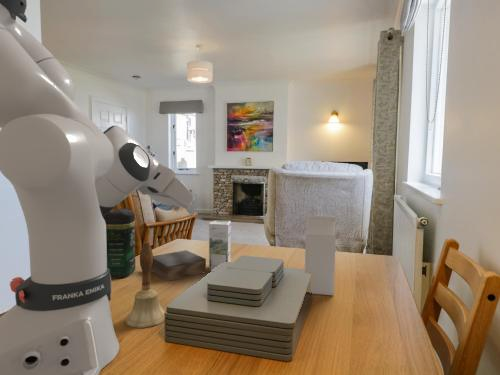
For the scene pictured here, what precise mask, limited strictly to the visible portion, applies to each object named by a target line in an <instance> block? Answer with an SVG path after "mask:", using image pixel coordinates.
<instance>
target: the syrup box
mask: <svg viewBox="0 0 500 375" xmlns="http://www.w3.org/2000/svg"><path fill="white" fill-rule="evenodd" d="M208 227H209V228H208V231H209V232H208V238H209V239H208V240H209V241H208V242H209V243H208V244H209V246H208V248H209V249H208V253H209V254H208V257H209V258H208V259H209V261H208V262H209V264H208V268H209V269H208V270H210V271H209V272H212V271H211V270H212V269H214V268H215V267H217V266H218V265H220V264H221V263H224V262H231V261H232V260H231V256H232V255H231V250H232V249H231V248H232V246H231V245H232V244H231V240H232V234H231V233H232V222H231V220H211V221H210V222H209V224H208ZM231 263H232V262H231Z"/></svg>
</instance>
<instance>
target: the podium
mask: <svg viewBox="0 0 500 375" xmlns="http://www.w3.org/2000/svg"><path fill="white" fill-rule="evenodd" d="M150 272H153V273H155V274H156V275H158V276H159V277H161V278H162V279H164V280H166V281H167V282H169V281H173V280H178V279H182V278H186V277H191V276H196V275H200V274H199V273H201V274H204V273H203V272H205V273H206V272H207V259H206V258H205V257H202V256H200V255H197V254H196V253H194V252H191V251H188V250H187V249H185V250H180V251H175V252H168V253H163V254H158V255H153V263H152V267H151V271H150ZM195 274H196V275H195Z"/></svg>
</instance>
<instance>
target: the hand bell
mask: <svg viewBox="0 0 500 375" xmlns="http://www.w3.org/2000/svg"><path fill="white" fill-rule="evenodd" d="M153 256H154V252H153V250H152V247H151V244H150V241H143V242H142V246H141V248H140V253H139V265H140V268H141V272H142V281H141V283H142V284H141V290H139V291H137V292H136V293H135V295H134V302H133V307H132V309H131V312H130V313H129V314H127V316H126V318H125V323H126V325H127V326H129V327H132V328H140V329H141V328H142V329H143V328H151V327H154V326H158V325H160V324H162V323H164V322H165V321H164V313H165V311H166V310H164V309H163V307H162V306H161V303H160V300H159V295H158V292H157V291H156V290H155V289H152V288H151V284H152V282H151V272H152V271H151V267H152V263H153Z"/></svg>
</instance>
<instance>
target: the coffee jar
mask: <svg viewBox="0 0 500 375" xmlns="http://www.w3.org/2000/svg"><path fill="white" fill-rule="evenodd" d="M102 217H103V218H104V220H105V223H106V243H107V268H109V269H110V275H111V279H112V278H113V279H119V278H122V277H128V276H130V275H131V274H132V273H134V271H135V270H136V267H137V266H136V244H135V243H136V241H135V240H136V239H135V238H136V237H135V235H136V234H135V232H136V227H135V226H136V213H135V212H134V211H133V210H131V208H116V209H115V210H111V211H110V212H109V213H108V214H107V215H106V216H102Z"/></svg>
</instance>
